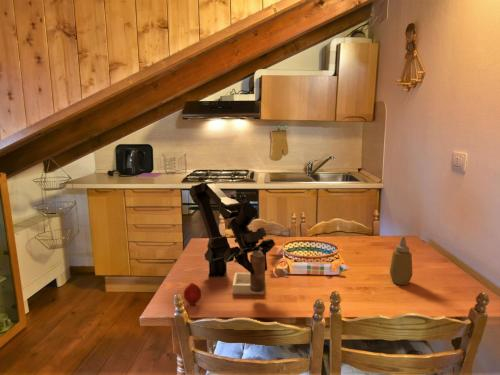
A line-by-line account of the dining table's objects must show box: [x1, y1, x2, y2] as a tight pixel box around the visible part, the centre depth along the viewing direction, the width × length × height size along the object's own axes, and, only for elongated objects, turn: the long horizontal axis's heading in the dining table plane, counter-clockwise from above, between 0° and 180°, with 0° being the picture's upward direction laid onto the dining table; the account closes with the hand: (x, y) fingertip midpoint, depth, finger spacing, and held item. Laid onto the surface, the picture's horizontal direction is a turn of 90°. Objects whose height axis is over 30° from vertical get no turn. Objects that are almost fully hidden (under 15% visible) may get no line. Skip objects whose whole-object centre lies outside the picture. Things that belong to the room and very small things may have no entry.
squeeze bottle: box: [389, 236, 413, 286], centre depth 140 cm, size 8×8×18 cm
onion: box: [183, 282, 202, 306], centre depth 125 cm, size 6×6×8 cm
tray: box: [232, 272, 265, 296], centre depth 138 cm, size 11×11×4 cm
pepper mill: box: [249, 251, 266, 292], centre depth 127 cm, size 5×5×13 cm
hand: (260, 272), depth 125 cm, fingers closed on pepper mill, 5 cm apart
